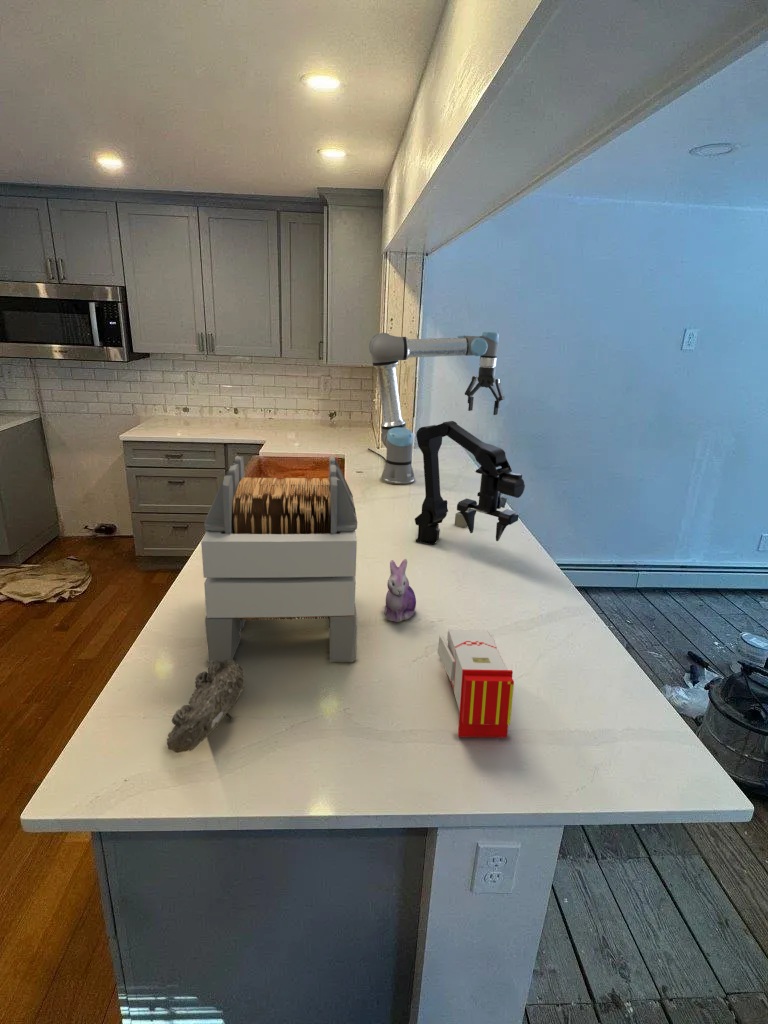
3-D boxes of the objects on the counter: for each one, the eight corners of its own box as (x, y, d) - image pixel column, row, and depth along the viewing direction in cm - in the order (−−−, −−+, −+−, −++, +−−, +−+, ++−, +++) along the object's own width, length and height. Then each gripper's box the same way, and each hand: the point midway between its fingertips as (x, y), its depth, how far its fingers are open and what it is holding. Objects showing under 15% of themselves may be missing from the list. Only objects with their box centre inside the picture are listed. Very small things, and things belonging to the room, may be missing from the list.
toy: (488, 613, 130) (523, 677, 101) (484, 667, 133) (517, 744, 104) (435, 612, 130) (455, 676, 101) (432, 666, 133) (451, 743, 103)
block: (463, 528, 208) (464, 516, 206) (454, 525, 210) (455, 513, 209) (469, 525, 211) (470, 513, 210) (460, 522, 213) (461, 510, 212)
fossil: (192, 660, 117) (244, 628, 112) (224, 691, 120) (276, 661, 115) (142, 746, 98) (202, 712, 93) (182, 779, 101) (242, 748, 96)
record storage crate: (228, 592, 154) (220, 446, 140) (349, 591, 158) (352, 448, 144) (205, 667, 122) (192, 487, 109) (356, 663, 126) (362, 488, 112)
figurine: (392, 627, 141) (395, 572, 136) (374, 608, 149) (376, 556, 144) (425, 619, 145) (429, 566, 140) (405, 601, 154) (408, 550, 149)
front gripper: (529, 490, 173) (523, 537, 178) (476, 477, 184) (471, 522, 189) (512, 498, 165) (506, 548, 170) (458, 484, 176) (453, 531, 181)
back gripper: (515, 369, 259) (509, 415, 266) (468, 364, 273) (464, 408, 281) (507, 370, 253) (502, 417, 261) (460, 364, 268) (456, 409, 275)
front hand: (484, 536), depth 178 cm, fingers open, 9 cm apart
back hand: (482, 412), depth 271 cm, fingers open, 13 cm apart
